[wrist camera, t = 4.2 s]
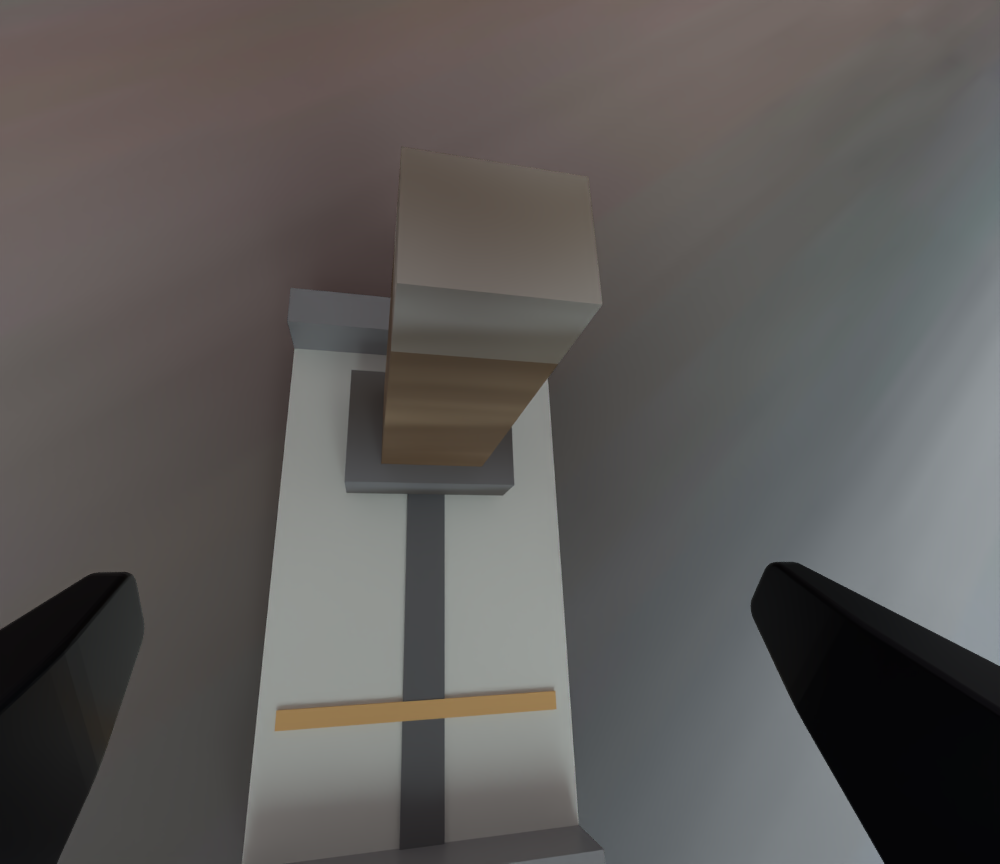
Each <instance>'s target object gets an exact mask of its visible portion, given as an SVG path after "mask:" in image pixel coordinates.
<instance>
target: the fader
mask: <svg viewBox="0 0 1000 864" xmlns="http://www.w3.org/2000/svg"><path fill="white" fill-rule="evenodd" d="M602 305H603V304H602V295H601V286H600V277H599V268H598V259H597V250H596V241H595V232H594V223H593V214H592V205H591V196H590V187H589V178H588V177H587V176H581V175H574V174H568V173H562V172H556V171H550V170H543V169H537V168H531V167H525V166H519V165H513V164H506V163H500V162H494V161H488V160H482V159H475V158H469V157H463V156H457V155H451V154H444V153H438V152H432V151H426V150H420V149H414V148H407V147H401V161H400V175H399V189H398V203H397V216H396V230H395V244H394V258H393V272H392V286H391V300H390V314H389V328H388V342H387V356H386V370H385V372H377V371H362V370H351V385H350V401H349V417H348V433H347V449H346V465H345V481H344V482H345V488H346V493H380V494H440V495H500V496H503V495H504V494H505V493H506V492H507V491H508V490H510V489H511V488H512V487H513V486H514V465H513V442H512V426H513V424H514V423H515V422H516V420H517V419H518V417H519V416H520V415H521V413H522V412H523V411H524V409H525V408H526V407H527V405H528V404H529V403H530V401H531V400H532V399H533V397H534V396H535V395H536V393H537V392H538V391H539V389H540V388H541V387H542V385H543V384H544V383H545V381H546V380H547V378H548V377H549V376H550V374H551V373H552V372H553V370H554V369H555V368H556V366H557V365H558V364H559V362H560V361H561V360H562V358H563V357H564V356H565V354H566V353H567V352H568V350H569V349H570V348H571V346H572V345H573V344H574V342H575V341H576V340H577V338H578V337H579V335H580V334H581V333H582V331H583V330H584V329H585V327H586V326H587V325H588V323H589V322H590V321H591V319H592V318H593V317H594V315H595V314H596V313H597V311H598V310H599V309H600V307H601V306H602Z"/></svg>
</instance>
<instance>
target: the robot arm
mask: <svg viewBox="0 0 1000 864" xmlns="http://www.w3.org/2000/svg"><path fill="white" fill-rule="evenodd" d="M751 613H752V616H753V619H754V621H755V623H756V625H757V627H758V630H759V632H760V634H761V636H762V638H763V640H764V642H765V645H766V647H767V649H768V651H769V653H770V655H771V657H772V660H773V662H774V664H775V666H776V668H777V670H778V672H779V675H780V677H781V679H782V681H783V683H784V685H785V687H786V689H787V692H788V694H789V696H790V698H791V700H792V702H793V704H794V706H795V708H796V710H797V712H798V713H799V715H800V717H801V719H802V721H803V723H804V724H805V726H806V728H807V730H808V731H809V733H810V735H811V737H812V738H813V740H814V742H815V744H816V745H817V747H818V749H819V751H820V752H821V754H822V756H823V757H824V759H825V761H826V763H827V764H828V766H829V768H830V770H831V771H832V773H833V775H834V777H835V778H836V780H837V782H838V784H839V785H840V787H841V789H842V791H843V792H844V794H845V796H846V798H847V799H848V801H849V803H850V804H851V806H852V808H853V810H854V811H855V813H856V815H857V817H858V818H859V820H860V822H861V824H862V825H863V827H864V829H865V831H866V832H867V834H868V836H869V838H870V839H871V841H872V843H873V845H874V846H875V848H876V850H877V851H878V853H879V855H880V857H881V858H882V860H883V862H884V864H1000V666H998V665H996V664H995V663H993V662H991V661H989V660H987V659H985V658H983V657H981V656H979V655H977V654H975V653H973V652H971V651H969V650H967V649H965V648H963V647H961V646H959V645H957V644H955V643H954V642H952V641H950V640H948V639H946V638H944V637H942V636H940V635H938V634H936V633H934V632H932V631H930V630H928V629H926V628H924V627H922V626H920V625H918V624H916V623H914V622H912V621H911V620H909V619H907V618H905V617H903V616H901V615H899V614H897V613H895V612H893V611H891V610H889V609H887V608H885V607H883V606H881V605H879V604H877V603H875V602H873V601H871V600H870V599H868V598H866V597H864V596H862V595H860V594H858V593H856V592H854V591H852V590H850V589H848V588H846V587H844V586H842V585H840V584H838V583H836V582H834V581H832V580H830V579H828V578H827V577H825V576H823V575H821V574H819V573H817V572H815V571H813V570H811V569H809V568H807V567H805V566H803V565H801V564H799V563H796V562H773V563H770V564H769V565H768V566H767V567H766V569H765V570H764V573H763V575H762V577H761V579H760V582H759V584H758V586H757V588H756V591H755V593H754V595H753V598H752V600H751ZM143 634H144V619H143V614H142V609H141V604H140V599H139V593H138V588H137V583H136V580H135V578H134V576H133V575H132V574H130V573H128V572H98V573H93V574H90V575H88V576H86V577H84V578H83V579H81V580H79V581H78V582H76V583H75V584H73V585H71V586H70V587H68V588H67V589H65V590H63V591H62V592H60V593H59V594H57V595H55V596H54V597H52V598H51V599H49V600H47V601H46V602H44V603H43V604H41V605H39V606H38V607H36V608H35V609H33V610H31V611H30V612H28V613H27V614H25V615H23V616H22V617H20V618H18V619H17V620H15V621H14V622H12V623H10V624H9V625H7V626H6V627H4V628H2V629H1V630H0V864H57V862H58V860H59V857H60V855H61V853H62V851H63V849H64V846H65V844H66V842H67V840H68V838H69V835H70V833H71V831H72V829H73V827H74V824H75V822H76V820H77V818H78V816H79V813H80V811H81V809H82V807H83V805H84V802H85V800H86V798H87V796H88V794H89V791H90V789H91V787H92V784H93V782H94V779H95V777H96V775H97V772H98V770H99V767H100V765H101V762H102V759H103V756H104V753H105V751H106V748H107V745H108V742H109V739H110V736H111V733H112V730H113V727H114V724H115V721H116V718H117V715H118V712H119V709H120V706H121V703H122V700H123V697H124V694H125V691H126V688H127V685H128V682H129V679H130V676H131V673H132V670H133V667H134V664H135V661H136V658H137V655H138V652H139V649H140V646H141V643H142V639H143Z"/></svg>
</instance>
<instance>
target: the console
mask: <svg viewBox="0 0 1000 864" xmlns="http://www.w3.org/2000/svg"><path fill="white" fill-rule="evenodd" d="M390 300H391V298H390V297H379V296H369V295H359V294H349V293H339V292H328V291H318V290H308V289H298V288H291V291H290V300H289V310H288V319H287V322H288V326H289V330H290V333H291V337H292V341H293V344H294V348H295V349H294V359H293V369H292V378H291V388H290V398H289V408H288V417H287V427H286V437H285V447H284V457H283V466H282V476H281V486H280V496H279V505H278V515H277V525H276V535H275V545H274V554H273V564H272V574H271V584H270V593H269V603H268V613H267V623H266V633H265V642H264V652H263V662H262V672H261V681H260V691H259V701H258V711H257V721H256V730H255V740H254V750H253V760H252V769H251V779H250V789H249V799H248V809H247V818H246V828H245V838H244V848H243V857H242V864H605V854H604V849H603V848H602V847H601V846H600V845H599V844H598V843H597V842H596V841H595V840H594V839H593V838H592V837H591V836H590V835H589V834H588V833H586V832H585V831H584V830H583V829H582V828H581V827H580V826H579V821H578V806H577V792H576V777H575V763H574V748H573V734H572V719H571V705H570V690H569V676H568V661H567V647H566V632H565V618H564V603H563V589H562V574H561V560H560V545H559V531H558V516H557V502H556V487H555V473H554V458H553V444H552V429H551V415H550V400H549V386H548V378H547V380H546V381H545V383H544V384H543V385H542V387H541V388H540V389H539V391H538V392H537V393H536V395H535V396H534V397H533V399H532V400H531V401H530V403H529V404H528V405H527V407H526V408H525V409H524V411H523V412H522V413H521V415H520V416H519V417H518V419H517V420H516V422H515V423H514V424H513V426H512V442H513V465H514V486H513V487H512V488H511V489H510V490H508V491H507V492H506V493H505V494H504V495H503V496H500V495H440V494H380V493H346V488H345V482H344V481H345V465H346V449H347V433H348V417H349V401H350V385H351V370H362V371H377V372H385V370H386V356H387V342H388V328H389V314H390Z"/></svg>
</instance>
